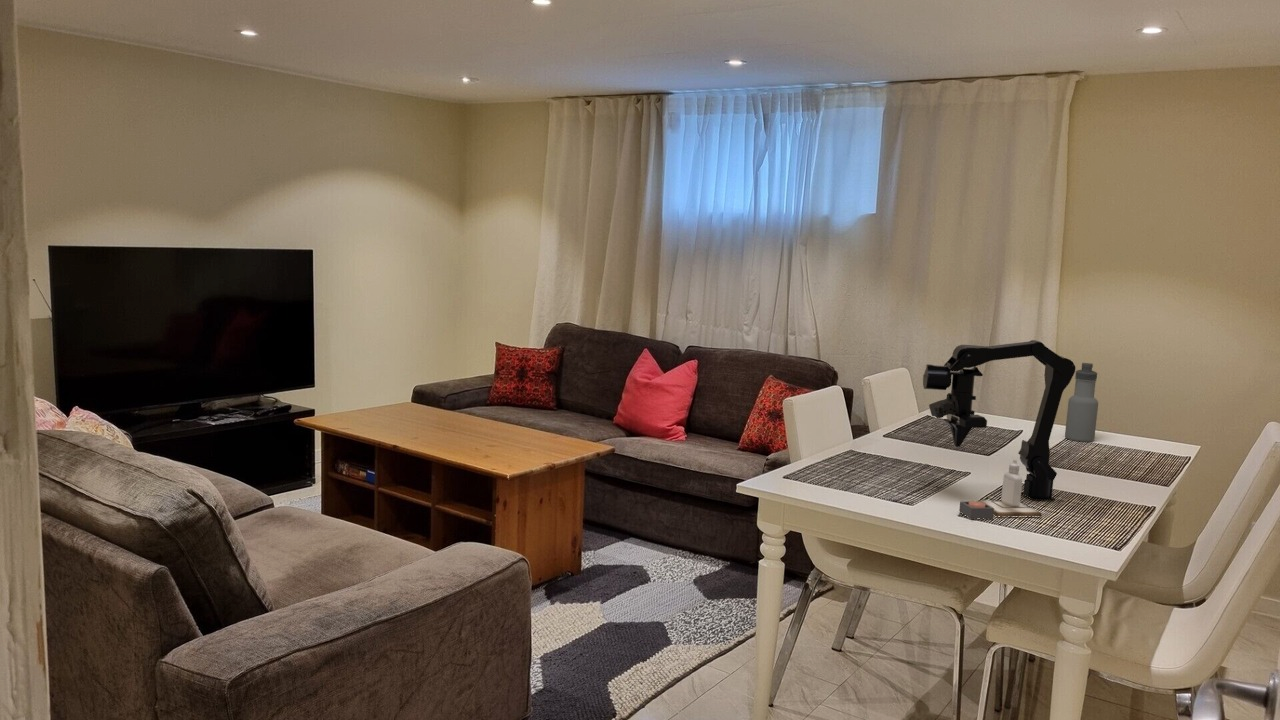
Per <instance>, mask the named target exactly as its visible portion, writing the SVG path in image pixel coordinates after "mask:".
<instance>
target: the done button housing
mask: <svg viewBox="0 0 1280 720" xmlns="http://www.w3.org/2000/svg"><path fill="white" fill-rule="evenodd" d="M970 501H971V500H970ZM970 501H967V500H966V501H964V500H961V501H960V502H959V508H958V509H959V511H960V512H962V513H963V514H965V515H966V516H968V517H969V518H971V519H973V518H975V519H977V518H980V519H983V518H985V519H988V518H989V519H993V520H994V516H993V513H994V508H993V507H991V506H989V505H988V504H986V503H985V508H973V507H971V506H969V502H970ZM977 501H978V502H982V501H983V500H977ZM982 503H984V502H982ZM959 511H958V512H959Z"/></svg>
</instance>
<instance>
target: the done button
mask: <svg viewBox="0 0 1280 720" xmlns="http://www.w3.org/2000/svg"><path fill="white" fill-rule="evenodd" d="M978 501H979V500H972V501H971V500H970V502H969V506H971V507H973V508H985V503H982V502H978Z"/></svg>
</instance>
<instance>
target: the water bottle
mask: <svg viewBox="0 0 1280 720" xmlns="http://www.w3.org/2000/svg"><path fill="white" fill-rule="evenodd" d="M1093 367H1094V364H1093V363H1089V362H1088V363H1087V362H1082V363H1081V369H1077V370H1075V373H1074V375H1075V376H1074V379H1075V384H1074V392H1073V395H1072V396H1070V397H1069V398H1068V402H1067V411H1066V412H1067V413H1066V421H1065V430H1064V437H1065V438H1066V439H1067V440H1070V441H1073V442H1079V441H1080V442H1081V443H1091V442H1093V441H1094V440H1095V439H1096V438H1095V437H1096V436H1095V435H1096V427H1097V420H1098V409H1099V400H1098V399H1097V398H1096V397H1095V391H1096V390H1095V389H1096V382H1097V380H1098V379H1097V378H1098V372H1096V371H1094V370H1093ZM1080 442H1079V443H1080Z"/></svg>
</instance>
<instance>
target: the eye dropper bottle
mask: <svg viewBox="0 0 1280 720" xmlns="http://www.w3.org/2000/svg"><path fill="white" fill-rule="evenodd" d="M1017 462H1018V461H1017V459H1015V458H1013V459H1012V462H1011V463H1009V465H1008V471H1007V472H1004V474H1003V478H1002V479H1003V481H1002V488H1001V499H1000V501H1002V502H1003V503H1004V504H1006V505H1009V506H1012V507H1018V506H1020V502H1021V497H1022V494H1021V493H1022V489H1023V478H1022V476H1021V475H1020V474H1019V473H1020V464H1018V463H1017Z"/></svg>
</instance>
